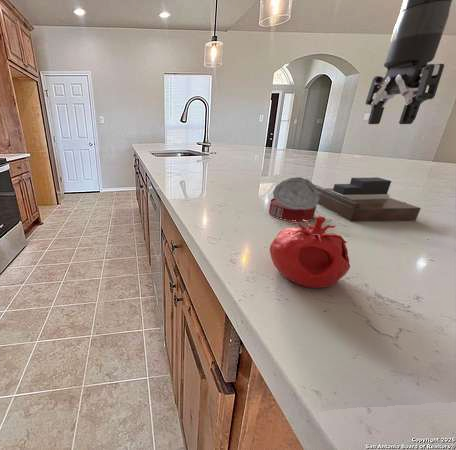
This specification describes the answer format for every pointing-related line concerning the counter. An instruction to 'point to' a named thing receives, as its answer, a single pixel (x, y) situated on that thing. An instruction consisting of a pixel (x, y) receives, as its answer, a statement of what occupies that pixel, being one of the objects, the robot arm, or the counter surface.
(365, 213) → the brown flat slab
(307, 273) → the pomegranate
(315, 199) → the canned food
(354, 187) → the stepped dark block
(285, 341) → the counter surface
